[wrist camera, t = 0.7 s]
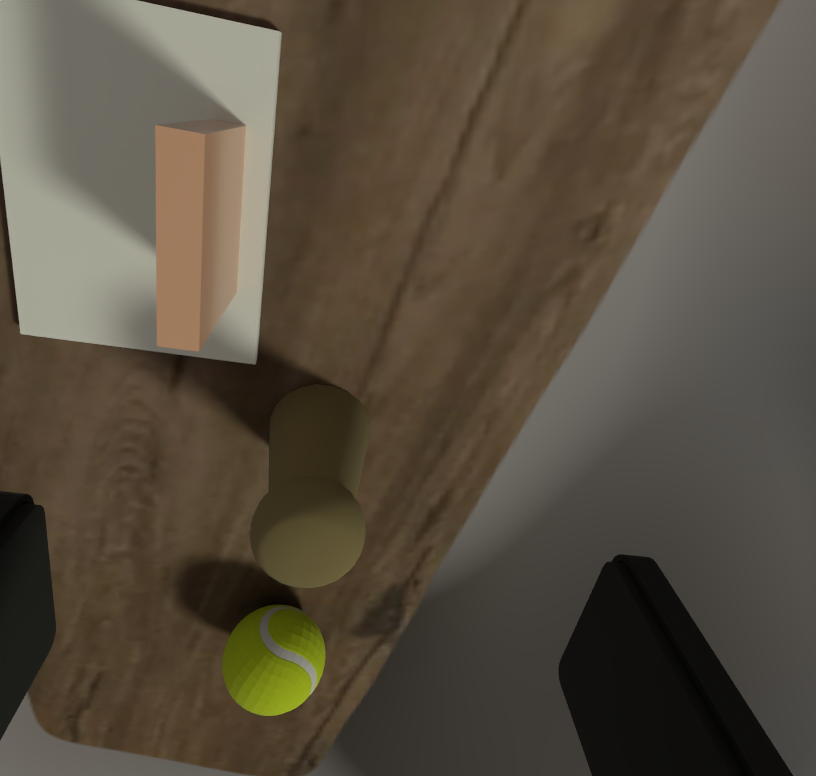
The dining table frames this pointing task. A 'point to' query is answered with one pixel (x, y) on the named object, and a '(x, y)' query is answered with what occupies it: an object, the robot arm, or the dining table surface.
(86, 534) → the dining table surface
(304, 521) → the cork
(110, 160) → the mat
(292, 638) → the tennis ball
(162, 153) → the tile
